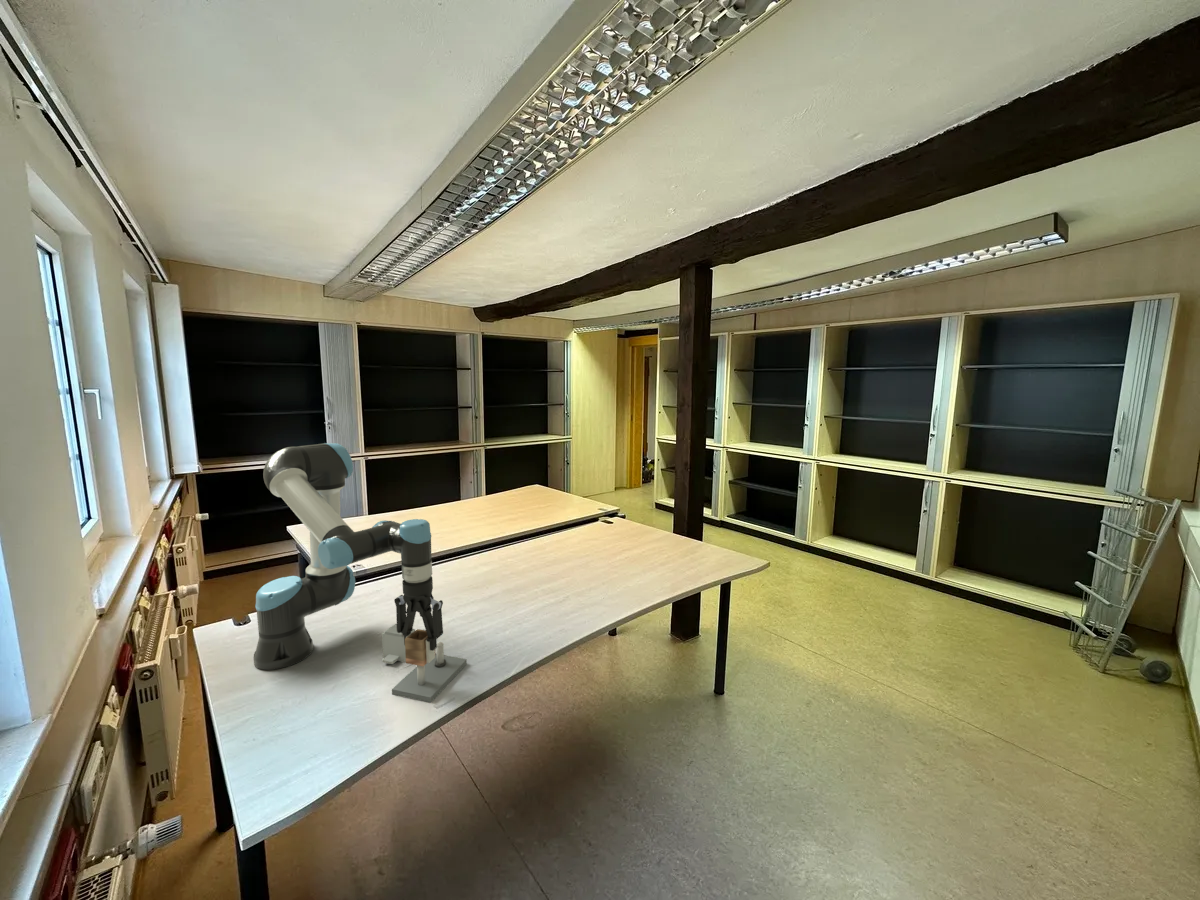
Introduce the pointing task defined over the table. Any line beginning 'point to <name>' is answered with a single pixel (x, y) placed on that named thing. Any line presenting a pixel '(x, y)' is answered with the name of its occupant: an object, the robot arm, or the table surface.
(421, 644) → the sleeve
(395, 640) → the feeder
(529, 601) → the table surface
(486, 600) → the table surface
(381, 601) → the table surface
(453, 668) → the pinboard
